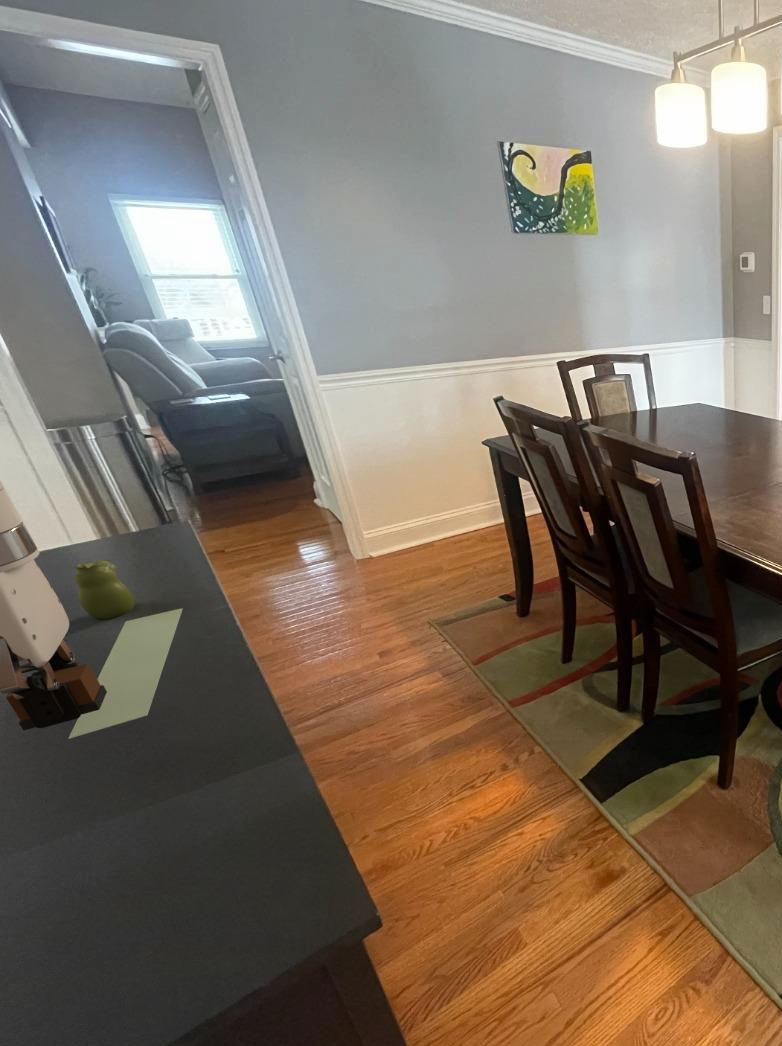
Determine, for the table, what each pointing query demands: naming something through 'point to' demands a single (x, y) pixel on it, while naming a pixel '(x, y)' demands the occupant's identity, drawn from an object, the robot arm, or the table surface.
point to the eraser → (79, 685)
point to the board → (132, 672)
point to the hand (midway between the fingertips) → (65, 708)
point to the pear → (102, 590)
